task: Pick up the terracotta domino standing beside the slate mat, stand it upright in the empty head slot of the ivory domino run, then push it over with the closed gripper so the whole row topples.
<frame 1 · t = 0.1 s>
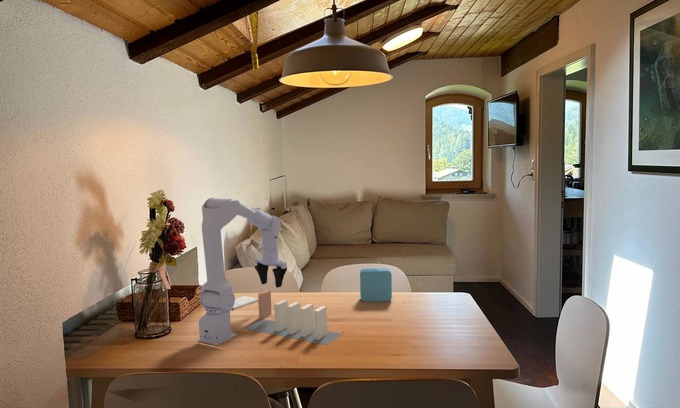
hand: (271, 285, 172), 10 cm above the table, tool pointing down, fingers open, 7 cm apart
domino 4: (307, 334, 149), resting on mat
blue rounded slab: (376, 300, 185), on the table
domino 5: (321, 336, 147), resting on mat
domino 3: (294, 331, 152), resting on mat
mat: (291, 332, 152), on the table
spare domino: (265, 317, 168), on the table
domino 2: (281, 329, 154), resting on mat
external hard drive: (239, 305, 184), on the table
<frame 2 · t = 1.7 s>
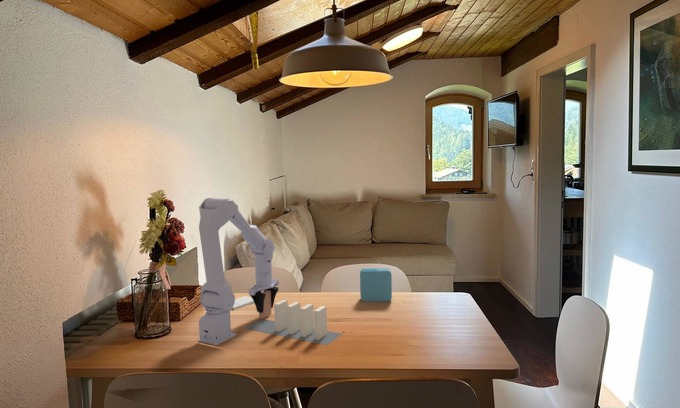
hand: (265, 309, 167), 3 cm above the table, tool pointing down, fingers closed on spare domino, 5 cm apart
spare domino: (265, 317, 168), on the table, touching gripper
everything else where it was.
when the fingers open (4 cm above the table, at t = 5.8 s): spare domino stays where it is, resting on mat.
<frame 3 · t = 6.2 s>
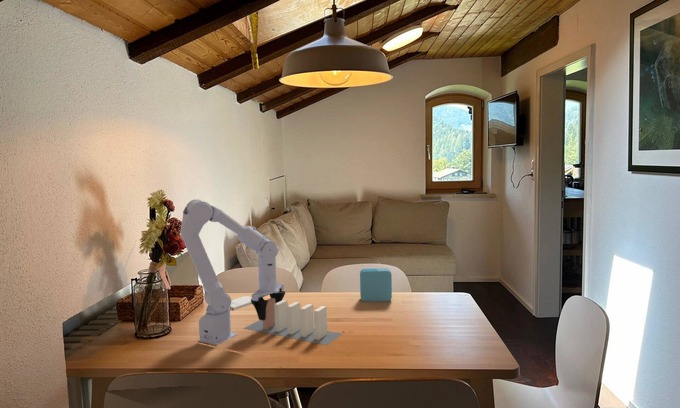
hand: (269, 316, 156), 4 cm above the table, tool pointing down, fingers open, 7 cm apart
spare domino: (269, 326, 157), resting on mat
everything else where it was.
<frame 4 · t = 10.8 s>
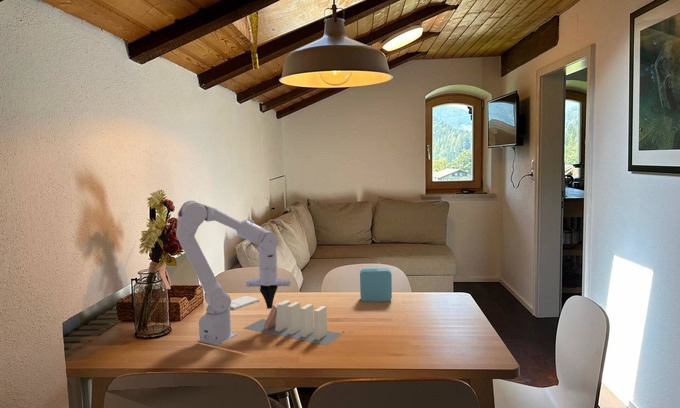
hand: (269, 307, 156), 7 cm above the table, tool pointing down, fingers closed
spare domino: (269, 325, 157), point 1 cm above the table, tilted 29°, touching mat
domino 2: (281, 328, 154), point 1 cm above the table, tilted 8°, touching mat
everything else where it was.
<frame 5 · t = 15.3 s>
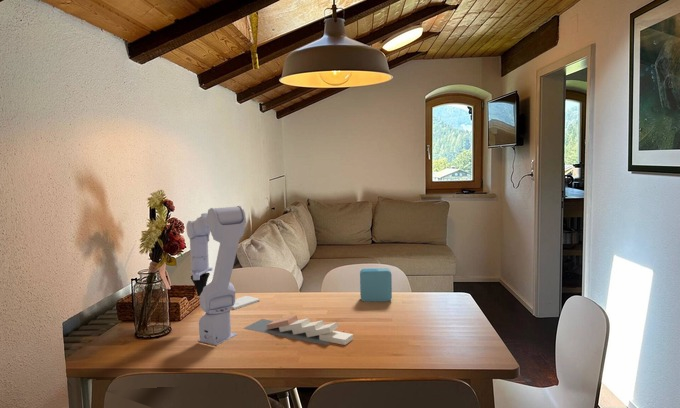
hand: (201, 295, 160), 10 cm above the table, tool pointing down, fingers closed
domino 4: (310, 332, 149), point 1 cm above the table, tilted 70°, touching domino 3, domino 5, mat
domino 5: (323, 334, 146), point 1 cm above the table, tilted 90°, touching domino 4, mat
domino 3: (297, 329, 151), point 1 cm above the table, tilted 71°, touching domino 2, domino 4, mat
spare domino: (271, 324, 156), point 1 cm above the table, tilted 71°, touching domino 2, mat
domino 2: (284, 327, 154), point 1 cm above the table, tilted 72°, touching domino 3, mat, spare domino
everything else where it was.
at the end: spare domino 0.8 cm from the target spot, point 1.2 cm above the table; domino 3 tilted 71°; domino 5 tilted 90° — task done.
